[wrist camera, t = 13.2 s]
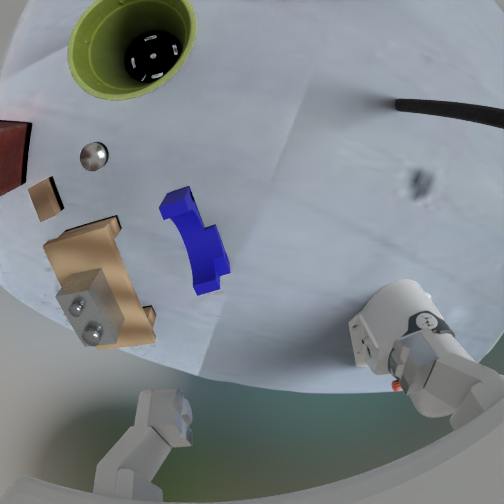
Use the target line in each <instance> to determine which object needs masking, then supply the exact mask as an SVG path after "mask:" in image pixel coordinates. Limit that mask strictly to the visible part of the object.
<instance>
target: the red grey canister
mask: <svg viewBox="0 0 504 504" xmlns="http://www.w3.org/2000/svg"><path fill="white" fill-rule="evenodd" d="M31 131H32V123H30V122H19V121H7V120H0V196H2V195H4V194H6V193H7V192H9V191H11V190H13V189H15V188H17V187H19V186H21V185H22V184H24V183H26V176H27V163H28V153H29V145H30V137H31Z"/></svg>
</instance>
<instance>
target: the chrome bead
mask: <svg viewBox="0 0 504 504" xmlns="http://www.w3.org/2000/svg"><path fill="white" fill-rule="evenodd" d="M108 158H109V152H108V149H107V147H106V146H105V145H104V144H103V143H101V142H93V143H90V144H87V145H86V146H85V147H84V148H83V149H82V151H81V154H80V162H81V164H82V166H83V167H84V168H85V169H86V170H88V171H96V170H98V169H100V168H102V167H103V166H104V165H105V164H106V163H107V161H108Z"/></svg>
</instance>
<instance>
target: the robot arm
mask: <svg viewBox="0 0 504 504" xmlns="http://www.w3.org/2000/svg"><path fill="white" fill-rule="evenodd" d="M348 325H349V330H350V335H351V341H352V346H353V351H354V357H355V363H356V366H359V367H366V366H369V367H370V369H371V371H372V372H373V373H374V374H376V375H387V374H392V375H393V376H394V377H395V378H396V379H397V380H395V381H393V382H392V388H393V390H394V391H395V392H396V391H398V390H399V389H403V391H404V392H405V394H406V395H409V396H410V398H411V400H412V401H413V403H414V405H415V407H416V409H417V410H418V411H419V412H420V413H421V414H422V415H424V416H427V417H442V416H446V415H449V414H453V413H454V414H453V416H452V417H451V419H450V423H451V425H452V427H453V428H454V430H455V431H453V432H451V433H450V434H448V435H446V436H444V437H443V438H441V439H439V440H437V441H436V442H434V443H432V444H430V445H428V446H426V447H424V448H422V449H420V450H418V451H416V452H413V453H411V454H409V455H407V456H405V457H403V458H401V459H398V460H396V461H393V462H391V463H389V464H386V465H384V466H381V467H379V468H376V469H373V470H371V471H368V472H365V473H362V474H359V475H356V476H353V477H351V478H348V479H344V480H341V481H337V482H334V483H331V484H327V485H323V486H319V487H315V488H311V489H307V490H303V491H298V492H293V493H288V494H283V495H277V496H271V497H264V498H257V499H249V500H239V501H228V502H211V503H169V502H162V490H161V489H160V488H158V487H157V486H155V485H154V484H152V483H151V480H152V479H153V477H154V476H155V474H156V472H157V471H158V469H159V468H160V466H161V465H162V463H163V461H164V460H165V458H166V457H167V455H168V453H169V452H170V450H171V447H184V446H192V431H191V430H190V428H189V425H190V424H191V423H192V411H191V407H190V404H189V402H188V401H187V400H186V399H184V398H183V392H182V391H181V389H166V390H149V391H141V393H140V395H139V400H138V406H137V412H136V418H135V424H134V427H133V426H132V427H130V428H129V429H128V430H127V432H126V433H125V434H124V435H123V436H122V437H121V438H120V440H119V441H118V442H117V443H116V444H115V445H114V446H113V447H112V449H111V450H110V451H109V452H108V453H107V454H106V455H105V457H104V458H103V459H102V460H101V461H100V462H99V463H98V464H97V469H96V475H95V482H94V489H93V493H88V492H84V491H79V490H75V489H70V488H67V487H63V486H59V485H56V484H53V483H49V482H46V481H43V480H40V479H37V478H34V477H31V476H22V477H21V478H19V479H18V480H16V481H15V482H14V483H13V484H12V485H11V486H10V487H8V488H7V489H6V490H5V491H4V493H3V494H2V496H1V499H0V504H504V375H500V374H497V372H496V371H495V370H492V369H490V368H488V367H485V366H483V365H480V364H478V363H477V362H476V361H475V360H474V359H473V358H472V357H471V356H470V355H469V354H468V353H467V352H466V351H465V350H464V349H463V348H462V346H461V345H460V344H459V343H458V342H457V340H456V339H455V335H454V333H453V331H452V330H451V328H450V327H449V326H448V325H447V324H446V323H445V321H444V319H443V317H442V316H441V314H440V313H439V311H438V310H437V308H436V307H435V306H434V304H433V303H432V301H431V295H430V294H428V293H426V292H424V291H423V290H422V288H421V287H420V285H419V284H418V283H417V282H415V281H413V280H409V279H402V280H398V281H395V282H392V283H390V284H388V285H386V286H385V287H383V288H382V289H381V290H379V291H378V292H377V293H376V294H375V295H374V296H373V297H372V298H371V299H370V300H369V301H368V303H367V304H366V305H365V307H364V308H363V309H362V310H361V311H360V312H359V313H358V314H357V315H356V316H354V317H353V318H352V319H351V320H350V321H349V324H348ZM354 325H357V327H356V328H353V326H354ZM359 351H360V352H359ZM357 352H359V353H357ZM366 363H367V365H366Z"/></svg>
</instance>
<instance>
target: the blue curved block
mask: <svg viewBox="0 0 504 504" xmlns="http://www.w3.org/2000/svg"><path fill="white" fill-rule="evenodd" d="M159 210H160V212H161V215H162V217H163V219H164V220H165V219H168V218H170V219H171V220H172V221H173V222H174V223H175V225H176V226H177V228H178V230H179V232H180V234H181V236H182V239H183V241H184V244H185V246H186V249H187V253H188V256H189V260H190V264H191V269H192V275H193V287H194V290H195V292H196V294H197V296H198V295H201V294H205V293H208V292H212V291H215V290H219V289H220V276H222V275H226V274H229V273H230V262H229V260H228V257H227V254H226V252H225V249H224V246H223V243H222V241H221V238H220V235H219V232H218V229H217V227H216V224H215V225H212V226H209V227H204V224H203V222H202V219H201V216H200V214H199V211H198V208H197V205H196V203H195V200H194V197H193V195H192V192H191V189H190V186H187V187H184V188H181V189H178V190H175V191H172V192H170V193H167V195H166V196H165V198H164V200H163V201H162V203H161V205H160V206H159Z"/></svg>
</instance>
